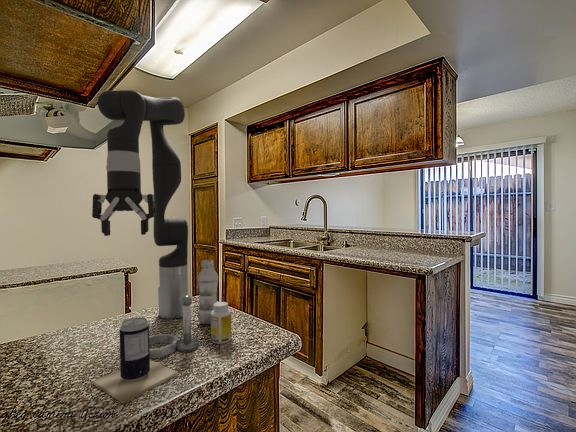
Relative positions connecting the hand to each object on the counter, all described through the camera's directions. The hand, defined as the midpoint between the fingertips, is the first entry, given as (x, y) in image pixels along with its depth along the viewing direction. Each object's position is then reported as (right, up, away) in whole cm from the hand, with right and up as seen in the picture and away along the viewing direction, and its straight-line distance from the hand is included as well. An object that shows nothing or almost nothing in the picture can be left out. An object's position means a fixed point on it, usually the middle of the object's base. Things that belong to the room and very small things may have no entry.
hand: (125, 235), depth 79 cm
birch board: (+9, -30, -12) cm, 34 cm away
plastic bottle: (+16, -30, +20) cm, 39 cm away
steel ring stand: (+10, -30, +3) cm, 32 cm away
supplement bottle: (+23, -30, +7) cm, 38 cm away
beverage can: (+8, -30, -12) cm, 33 cm away
